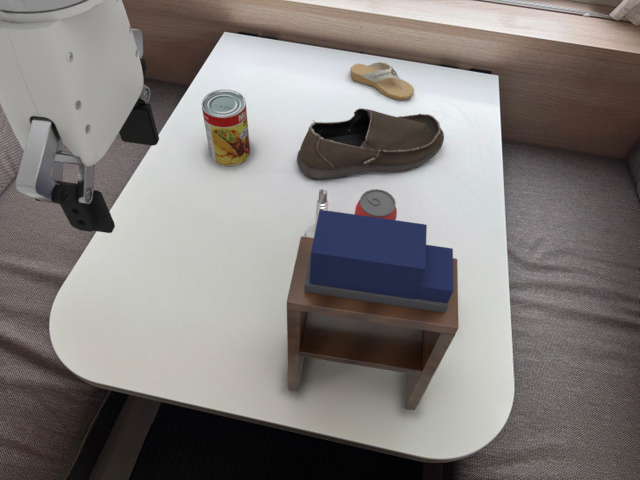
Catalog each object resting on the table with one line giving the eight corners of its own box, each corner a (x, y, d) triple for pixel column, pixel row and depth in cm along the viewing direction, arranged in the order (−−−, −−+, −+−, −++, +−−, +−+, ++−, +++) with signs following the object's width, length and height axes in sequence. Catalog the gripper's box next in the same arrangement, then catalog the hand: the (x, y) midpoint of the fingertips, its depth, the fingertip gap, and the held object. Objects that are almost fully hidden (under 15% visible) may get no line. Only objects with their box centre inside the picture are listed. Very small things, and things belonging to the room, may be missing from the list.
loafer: (451, 161, 104) (465, 119, 95) (310, 196, 96) (311, 153, 88) (426, 127, 110) (437, 84, 101) (291, 157, 102) (291, 114, 94)
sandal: (408, 104, 114) (412, 85, 110) (343, 83, 118) (345, 64, 114) (418, 88, 118) (422, 68, 114) (355, 68, 122) (357, 49, 118)
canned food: (256, 159, 102) (252, 110, 92) (217, 171, 99) (209, 121, 90) (241, 134, 106) (236, 85, 96) (204, 145, 103) (195, 95, 94)
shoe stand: (287, 390, 73) (286, 302, 54) (298, 333, 79) (301, 235, 60) (414, 410, 72) (458, 328, 53) (417, 351, 78) (457, 258, 59)
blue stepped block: (304, 292, 55) (305, 253, 50) (312, 247, 59) (315, 207, 53) (445, 313, 54) (462, 276, 49) (445, 267, 58) (461, 227, 53)
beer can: (362, 227, 92) (371, 180, 83) (394, 245, 90) (407, 199, 81) (342, 251, 89) (348, 204, 79) (374, 270, 87) (385, 225, 77)
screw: (337, 249, 89) (309, 254, 88) (329, 228, 92) (302, 233, 91) (343, 198, 79) (312, 203, 78) (334, 176, 82) (304, 180, 81)
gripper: (45, -105, 34) (115, 108, 47) (-136, 39, 23) (21, 261, 37) (157, -93, 33) (196, 119, 47) (24, 60, 23) (123, 276, 36)
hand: (119, 181), depth 42 cm, fingers open, 9 cm apart
